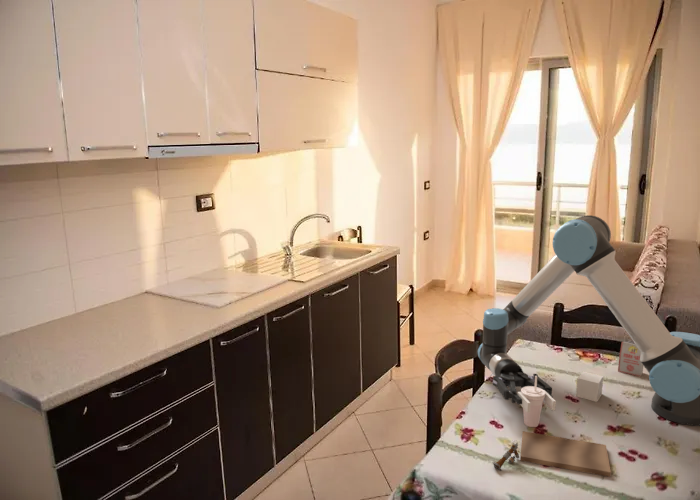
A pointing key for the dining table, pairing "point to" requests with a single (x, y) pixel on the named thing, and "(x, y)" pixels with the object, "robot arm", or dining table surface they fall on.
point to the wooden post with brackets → (506, 456)
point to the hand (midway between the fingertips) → (541, 406)
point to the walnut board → (565, 453)
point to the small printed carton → (630, 359)
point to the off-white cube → (589, 386)
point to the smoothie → (533, 404)
